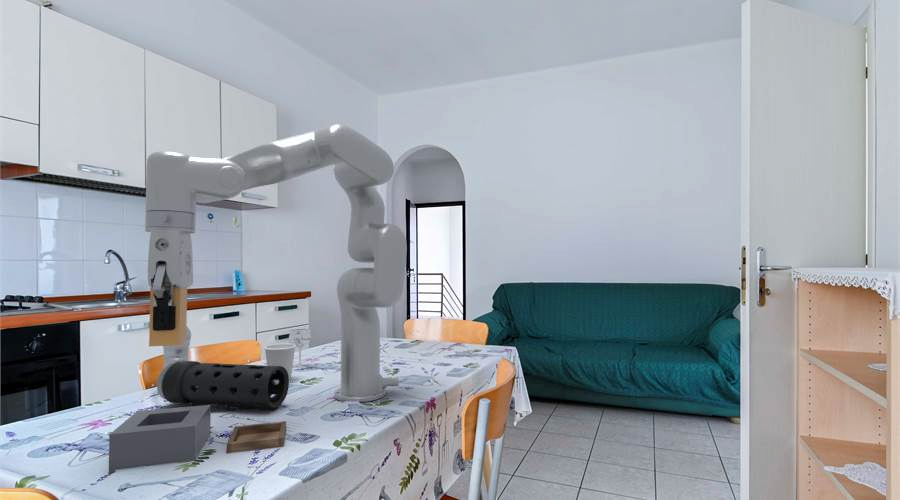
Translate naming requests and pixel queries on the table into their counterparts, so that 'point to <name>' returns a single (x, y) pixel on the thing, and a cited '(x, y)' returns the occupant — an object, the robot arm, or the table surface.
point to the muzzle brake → (224, 385)
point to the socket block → (159, 437)
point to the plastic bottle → (177, 351)
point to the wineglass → (300, 340)
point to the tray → (256, 437)
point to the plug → (179, 332)
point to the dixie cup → (280, 356)
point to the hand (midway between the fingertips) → (168, 327)
